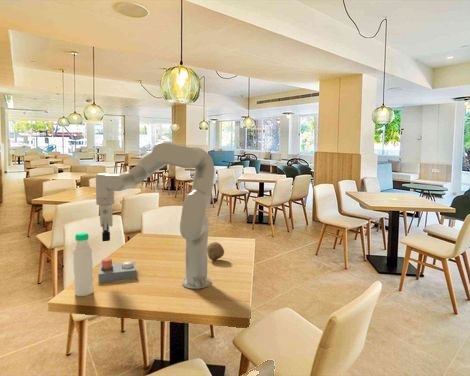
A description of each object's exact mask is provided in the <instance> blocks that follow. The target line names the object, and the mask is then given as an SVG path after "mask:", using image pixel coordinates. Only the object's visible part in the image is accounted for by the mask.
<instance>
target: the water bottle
mask: <svg viewBox="0 0 470 376" xmlns="http://www.w3.org/2000/svg"><path fill="white" fill-rule="evenodd" d="M74 239H75V241H76V244H75V246H74V249H73V250H72V255H73V261H72V262H73V263H72V264H73V275H74V277H73V278H74V280H73V282H74V295H75V296H78V297H86V296H89V295H91V294H92V293H93V292H94V276H93V273H94V272H93V271H94V269H93V266H94V265H93V255H92V253H93V249H92V247H91V246H90V244H89V242H88V240H89V233H88V232H78V233H76V234H75V237H74Z"/></svg>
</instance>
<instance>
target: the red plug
mask: <svg viewBox="0 0 470 376" xmlns="http://www.w3.org/2000/svg"><path fill="white" fill-rule="evenodd" d="M112 264H113V259H112V258H103V259H102V260H101V265H102V271H107V270H112Z"/></svg>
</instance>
